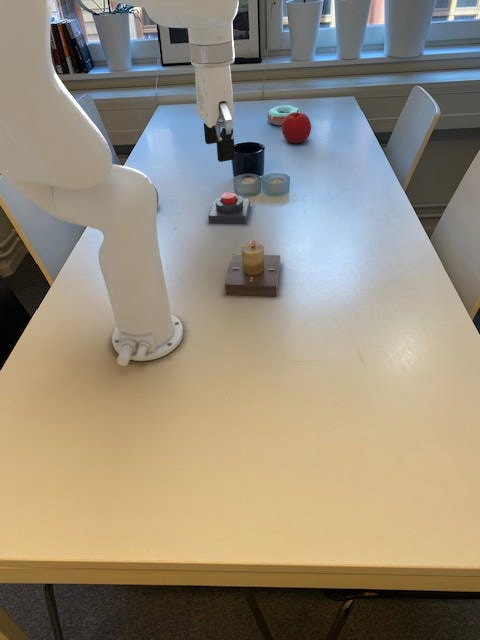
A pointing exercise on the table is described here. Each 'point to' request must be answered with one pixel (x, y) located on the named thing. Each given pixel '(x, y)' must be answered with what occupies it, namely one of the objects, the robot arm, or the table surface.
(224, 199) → the button
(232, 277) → the panel
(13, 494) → the table surface
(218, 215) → the button block
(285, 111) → the donut
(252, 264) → the knob
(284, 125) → the apple
